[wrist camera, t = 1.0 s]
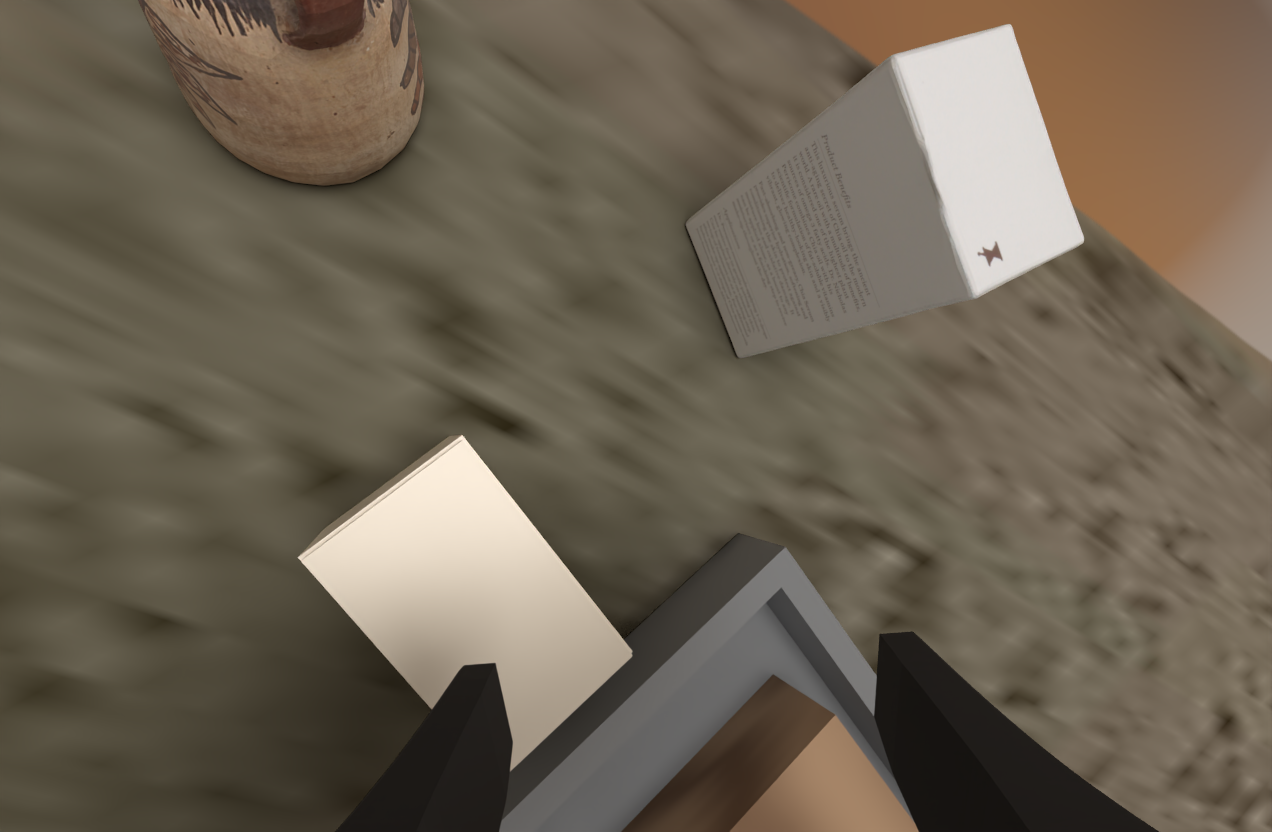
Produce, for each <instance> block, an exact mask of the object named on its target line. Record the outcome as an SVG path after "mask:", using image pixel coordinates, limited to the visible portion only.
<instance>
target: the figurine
mask: <svg viewBox="0 0 1272 832" xmlns="http://www.w3.org/2000/svg"><path fill="white" fill-rule="evenodd" d="M138 1H139V3H140V6H141V8H142V10H143V12H144V14H145V16H146V18H147V21H148V23H149V25H150V27H151V29H152V31H153V34H154V36H155V38H156V40H157V42H158V44H159V46H160V48H161V51H162V53H163V55H164V56H165V58H166V59H167V61H168V64H169V67H170V69H171V71H172V74H173V76H174V78H175V80H176V82H177V84H178V86H179V88H180V90H181V92H182V94H183V95H184V97H185V99H186V101H187V103H188V105H189V106H190V108H191V109H192V111H193V112H194V113H195V115H196V116H197V117H198V119H199V120H200V122H201V123H202V124H203V126H204V127H205V128H206V129H207V130H208V131H209V132H210V134H211V135H212V136H213V137H214V138H215V139H216V140H217V142H218V143H220V144H221V145H222V146H224V147H225V148H226V149H227V150H228V151H230V152H231V153H232V154H233V155H234V156H235V157H237V158H238V159H240V160H242V161H243V162H245V163H247V164H249V165H251V166H253V167H254V168H256V169H258V170H260V171H262V172H264V173H266V174H269V175H272V176H275V177H278V178H282V179H285V180H288V181H291V182H296V183H304V184H313V185H322V186H326V185H335V184H344V183H352V182H355V181H357V180H359V179H361V178H363V177H365V176H367V175H369V174H371V173H373V172H375V171H377V170H379V169H381V168H382V167H383V166H385V165H386V164H387V163H388V162H389V161H390V160H391V159H393V158H394V157H395V156H396V155H397V154H398V153H399V152H401V151H402V150H403V149H404V147H405V146H406V144H407V142H408V140H409V139H410V137H411V135H412V133H413V131H414V130H415V128H416V126H417V124H418V121H419V118H420V113H421V108H422V104H423V98H424V80H423V70H422V60H421V53H420V47H419V43H418V39H417V35H416V31H415V26H414V21H413V16H412V11H411V6H410V3H409V0H138Z"/></svg>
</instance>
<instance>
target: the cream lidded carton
mask: <svg viewBox="0 0 1272 832" xmlns="http://www.w3.org/2000/svg"><path fill="white" fill-rule="evenodd" d="M298 558H299V559H300V560H301V562H302V563H303V564H304V565H305V566H306V567H307V568H308V570H309V571H310V572H311V573H312V574H313V575H314V576H315V578H316V579H317V580H318V581H319V582H320V583H321V584H322V585H323V587H324V588H325V589H326V590H327V591H328V592H329V593H330V595H331V596H332V597H333V598H334V599H335V600H336V601H337V602H338V604H339V605H340V606H341V607H342V608H343V609H344V610H345V612H346V613H347V614H348V615H349V616H350V617H351V618H352V620H353V621H354V622H355V623H356V624H357V625H358V626H359V627H360V629H361V630H362V631H363V632H364V633H365V634H366V635H367V637H368V638H369V639H370V640H371V641H372V642H373V643H374V645H375V646H376V647H377V648H378V649H379V650H380V651H381V652H382V654H383V655H384V656H385V657H386V658H387V659H388V660H389V662H390V663H391V664H392V665H393V666H394V667H395V668H396V670H397V671H398V672H399V673H400V674H401V675H402V676H403V677H404V679H405V680H406V681H407V682H408V683H409V684H410V685H411V687H412V688H413V689H414V690H415V691H416V692H417V693H418V695H419V696H420V697H421V698H422V699H423V700H424V701H425V702H426V704H427V705H428V706H429V707H430V708H431V709H433V707H434V706H435V704H436V703H437V702H438V700H439V699H440V697H441V696H442V694H443V693H444V691H445V690H446V689H447V687H448V686H449V684H450V683H451V681H452V680H453V678H454V677H455V675H456V674H457V673H458V671H459V670H460V669H461V668H462V667H463V666H464V665H473V664H486V663H496V667H497V671H498V676H499V681H500V685H501V690H502V694H503V699H504V703H505V708H506V712H507V717H508V721H509V726H510V730H511V735H512V740H513V748H512V757H511V766H510V771H511V770H512V769H513V768H514V767H516V766H517V765H518V764H519V763H520V762H521V761H522V760H523V759H524V758H525V757H526V756H527V755H528V754H529V753H530V752H531V751H533V750H534V749H535V748H536V747H537V746H538V745H539V744H540V743H541V742H542V741H543V740H544V739H545V738H546V737H547V736H548V735H550V734H551V733H552V732H553V731H554V730H555V729H556V728H557V727H558V726H559V725H560V724H561V723H562V722H563V721H564V720H565V719H566V718H568V717H569V716H570V715H571V714H572V713H573V712H574V711H575V710H576V709H577V708H578V707H579V706H580V705H581V704H582V703H583V702H585V701H586V700H587V699H588V698H589V697H590V696H591V695H592V694H593V693H594V692H595V691H596V690H597V689H598V688H599V687H600V686H602V685H603V684H604V683H605V682H606V681H607V680H608V679H609V678H610V677H611V676H612V675H613V674H614V673H615V672H616V671H617V670H618V669H620V668H621V667H622V666H623V665H624V664H625V663H626V662H627V661H628V660H629V659H630V658H631V657H632V656H633V655H632V654H631V653H632V652H633V651H632V650H631V649H630V647H629V646H628V645H627V643H626V642H625V641H624V640H623V638H622V637H621V636H620V635H619V633H618V632H617V631H616V630H615V628H614V627H613V626H612V624H611V623H610V622H609V621H608V619H607V618H606V617H605V616H604V614H603V613H602V612H601V610H600V609H599V608H598V607H597V605H596V604H595V603H594V602H593V600H592V599H591V598H590V597H589V595H588V594H587V593H586V591H585V590H584V589H583V588H582V586H581V585H580V584H579V583H578V581H577V580H576V579H575V578H574V576H573V575H572V574H571V572H570V571H569V570H568V569H567V567H566V566H565V565H564V564H563V562H562V561H561V560H560V558H559V557H558V556H557V555H556V553H555V552H554V551H553V550H552V548H551V547H550V546H549V545H548V543H547V542H546V541H545V539H544V538H543V537H542V536H541V534H540V533H539V532H538V531H537V529H536V528H535V527H534V526H533V524H532V523H531V522H530V520H529V519H528V518H527V517H526V515H525V514H524V513H523V512H522V510H521V509H520V508H519V506H518V505H517V504H516V503H515V501H514V500H513V499H512V498H511V496H510V495H509V494H508V493H507V491H506V490H505V489H504V487H503V486H502V485H501V484H500V482H499V481H498V480H497V479H496V477H495V476H494V475H493V474H492V472H491V471H490V470H489V468H488V467H487V466H486V465H485V463H484V462H483V461H482V460H481V458H480V457H479V456H478V454H477V453H476V452H475V451H474V449H473V448H472V447H471V446H470V444H469V443H468V442H467V441H466V439H465V438H464V437H463V435H451V436H449V437H447V438H446V439H445V440H443V441H442V442H441V443H439V444H438V445H436V446H435V447H434V448H432V449H431V450H430V451H428V452H427V453H426V454H424V455H423V456H422V457H420V458H419V459H418V460H416V461H415V462H414V463H412V464H411V465H409V466H408V467H407V468H405V469H404V470H403V471H401V472H400V473H399V474H397V475H396V476H395V477H393V478H392V479H391V480H389V481H388V482H386V483H385V484H384V485H382V486H381V487H380V488H378V489H377V490H376V491H374V492H373V493H372V494H370V495H369V496H368V497H366V498H365V499H364V500H362V501H361V502H359V503H358V504H357V505H355V506H354V507H353V508H351V509H350V510H349V511H347V512H346V513H345V514H343V515H342V516H341V517H339V518H338V519H336V520H335V521H334V522H332V523H331V524H330V525H328V526H327V527H326V528H324V529H323V530H322V532H321V533H320V534H319V535H318V536H317V537H316V538H315V539H314V540H313V541H312V542H311V544H310V545H309V546H308V547H307V548H306V549H305V550H304V551H303V552H302V553H301V554H300V556H299V557H298Z"/></svg>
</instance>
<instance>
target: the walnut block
mask: <svg viewBox="0 0 1272 832" xmlns="http://www.w3.org/2000/svg"><path fill="white" fill-rule="evenodd" d="M621 832H919V831H918V829H917V827H916V825H915V823H914V821H913V820H912V819H911V817H910V816H909V815H908V813H907V812H906V810H905V809H904V808H903V806H902V805H901V804H900V802H899V801H898V800H897V798H896V797H895V795H894V794H893V793H892V791H891V790H890V789H889V787H888V786H887V785H886V783H885V782H884V780H883V779H882V778H881V776H880V775H879V774H878V772H877V771H876V769H875V768H874V767H873V765H872V764H871V763H870V761H869V760H868V759H867V757H866V756H865V754H864V753H863V752H862V750H861V749H860V748H859V746H858V745H857V743H856V742H855V741H854V739H853V738H852V737H851V735H850V734H849V733H848V731H847V730H846V728H845V727H844V726H843V724H842V723H841V722H840V720H839V719H838V718H837V716H836V715H835V714H834V713H832V712H830V711H829V710H827V709H826V708H824V707H823V706H821V705H820V704H818V703H817V702H815V701H814V700H812V699H810V698H809V697H807V696H806V695H804V694H803V693H801V692H800V691H798V690H797V689H795V688H794V687H792V686H790V685H789V684H787V683H786V682H784V681H783V680H781V679H780V678H778V677H777V676H775V675H774V674H773V675H772V676H771V677H770V678H769V679H768V680H767V681H766V682H765V683H764V684H763V685H762V686H761V687H760V688H759V689H758V691H757V692H756V693H755V694H754V695H753V696H752V697H751V698H750V699H749V700H748V701H747V702H746V703H745V704H744V705H743V706H742V707H741V708H740V709H739V710H738V711H737V712H736V713H735V714H734V715H733V716H732V717H731V718H730V719H729V721H728V722H727V723H726V724H725V725H724V726H723V727H722V728H721V729H720V730H719V731H718V732H717V733H716V734H715V735H714V736H713V737H712V738H711V739H710V740H709V741H708V742H707V743H706V744H705V745H704V746H703V747H702V748H701V749H700V751H699V752H698V753H697V754H696V755H695V756H694V757H693V758H692V759H691V760H690V761H689V762H688V763H687V764H686V765H685V766H684V767H683V768H682V769H681V770H680V771H679V772H678V773H677V774H676V775H675V776H674V777H673V778H672V779H671V781H670V782H669V783H668V784H667V785H666V786H665V787H664V788H663V789H662V790H661V791H660V792H659V793H658V794H657V795H656V796H655V797H654V798H653V799H652V800H651V801H650V802H649V803H648V804H647V805H646V806H645V807H644V808H643V809H642V811H641V812H640V813H639V814H638V815H637V816H636V817H635V818H634V819H633V820H632V821H631V822H630V823H629V824H628V825H627V826H626V827H625V828H624V829H623V830H622V831H621Z"/></svg>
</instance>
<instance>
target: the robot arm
mask: <svg viewBox="0 0 1272 832" xmlns="http://www.w3.org/2000/svg"><path fill="white" fill-rule="evenodd" d="M874 718H875V721H876V724H877V727H878V731H879V734H880V737H881V740H882V743H883V746H884V750H885V752H886V755H887V758H888V761H889V764H890V767H891V770H892V773H893V775H894V778H895V780H896V782H897V785H898V787H899V789H900V791H901V793H902V796H903V798H904V800H905V802H906V805H907V807H908V809H909V811H910V814H911V816H912V818H913V820H914V822H915V825H916V827H917V829H918V831H919V832H1159V831H1157V830H1156V829H1154V828H1153V827H1151V826H1150V825H1148V824H1147V823H1145V822H1144V821H1142V820H1141V819H1139V818H1138V817H1136V816H1135V815H1133V814H1132V813H1130V812H1129V811H1127V810H1126V809H1125V808H1123V807H1122V806H1120V805H1119V804H1118V803H1116V802H1115V801H1113V800H1112V799H1110V798H1109V797H1108V796H1106V795H1105V794H1103V793H1102V792H1101V791H1099V790H1098V789H1096V788H1095V787H1093V786H1092V785H1091V784H1089V783H1088V782H1086V781H1085V780H1084V779H1082V778H1081V777H1080V776H1078V775H1077V774H1076V773H1074V772H1073V771H1072V770H1070V769H1069V768H1068V767H1067V766H1065V765H1064V764H1063V763H1061V762H1060V761H1059V760H1058V759H1056V758H1055V757H1054V756H1053V755H1051V754H1050V753H1049V752H1048V751H1046V750H1045V749H1044V748H1043V747H1041V746H1040V745H1039V744H1038V743H1036V742H1035V741H1034V740H1033V739H1032V738H1030V737H1029V736H1028V735H1027V734H1026V733H1024V732H1023V731H1022V730H1021V729H1020V728H1018V727H1017V726H1016V725H1015V724H1014V723H1013V722H1012V721H1010V720H1009V719H1008V718H1007V717H1006V716H1005V715H1003V714H1002V713H1001V712H1000V711H999V710H998V709H997V708H995V707H994V706H993V705H992V704H991V703H990V702H989V701H987V700H986V699H985V698H984V697H983V696H982V695H981V694H980V693H979V692H977V691H976V690H975V689H974V688H973V687H972V686H971V685H970V684H969V683H968V682H966V681H965V680H964V679H963V678H962V677H961V676H960V675H959V674H958V673H957V672H956V671H955V670H954V669H952V668H951V667H950V666H949V665H948V664H947V663H946V662H945V661H944V660H943V659H942V658H941V657H940V656H939V655H938V654H937V653H935V652H934V651H933V650H932V649H931V648H930V647H929V646H928V645H927V644H926V643H925V642H924V641H923V640H922V639H921V638H919V637H918V636H917V635H916V634H915V633H914V632H901V633H888V634H880V636H879V651H878V666H877V681H876V695H875V710H874ZM512 748H513V740H512V735H511V730H510V726H509V721H508V717H507V712H506V708H505V703H504V699H503V694H502V690H501V685H500V681H499V676H498V671H497V667H496V663H486V664H473V665H464V666H463V667H462V668H461V669H460V670H459V671H458V673H457V674H456V675H455V677H454V678H453V680H452V681H451V683H450V684H449V686H448V687H447V689H446V690H445V691H444V693H443V694H442V696H441V697H440V699H439V700H438V702H437V703H436V704H435V706H434V707H433V709H432V710H431V711H430V713H429V714H428V716H427V717H426V718H425V720H424V721H423V723H422V724H421V725H420V727H419V728H418V730H417V731H416V732H415V734H414V735H413V736H412V738H411V739H410V740H409V742H408V743H407V744H406V746H405V747H404V748H403V750H402V751H401V752H400V754H399V755H398V756H397V758H396V759H395V760H394V762H393V763H392V764H391V765H390V767H389V768H388V769H387V771H386V772H385V773H384V774H383V775H382V777H381V778H380V779H379V780H378V782H377V783H376V784H375V785H374V786H373V788H372V789H371V790H370V791H369V793H368V794H367V795H366V796H365V797H364V799H363V800H362V801H361V802H360V804H359V805H358V806H357V807H356V808H355V810H354V811H353V812H352V813H351V814H350V815H349V816H348V818H347V819H346V820H345V821H344V822H343V823H342V824H341V826H340V827H339V828H338V829H337V830H336V831H335V832H499V830H500V826H501V821H502V817H503V812H504V808H505V803H506V798H507V790H508V783H509V775H510V766H511V757H512Z"/></svg>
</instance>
